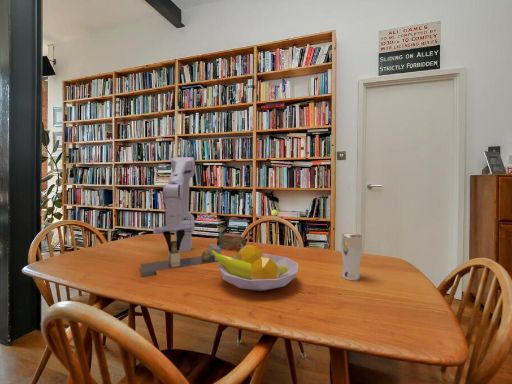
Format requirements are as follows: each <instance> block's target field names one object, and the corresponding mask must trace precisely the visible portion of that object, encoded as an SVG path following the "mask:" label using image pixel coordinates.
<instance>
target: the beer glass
mask: <svg viewBox="0 0 512 384" xmlns="http://www.w3.org/2000/svg"><path fill="white" fill-rule="evenodd" d="M340 250H341V252H340V253H341V260H342V272H341V277H342V278H343V279H344V280H348V281H359V280H360V279H361V276H360V263H361V259H362V253H363V237H362V235H361V234H358V233H351V232H347V233H342V234H341V242H340Z"/></svg>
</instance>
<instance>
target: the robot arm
mask: <svg viewBox="0 0 512 384" xmlns="http://www.w3.org/2000/svg"><path fill="white" fill-rule="evenodd" d="M170 163H171V164H170V165H171V170H172V173H171V174H170V176H169V179H168V181H167V183H166V185H164V186H163V189H162V193H163V203H164V204H165V207H164V208H165V225H164V226H159V227H153V229H152V231H153V234H154V235H156V234H162V235H163V237H164V239H165V241H166V244H167V245H166V246H167V248H168V250H169V252H170V251H171V241H172V234H171V233H173V235H174V241H177V251H178V252H179V253H181V252H189V251H192V233H194V232H195V216H194V215H193V214H192V213H191V212H189V211H190V210H189V209H190V208H189V207H190V204H189V201H190V181H191V178H192V177H194V176H195V167H196V163H195V158H194V156H191V157H190V156H189V157H183V156H182V157H181V156H180V157H178V156H173V157H172V158H171V161H170Z"/></svg>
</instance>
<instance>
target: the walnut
mask: <svg viewBox="0 0 512 384" xmlns="http://www.w3.org/2000/svg"><path fill="white" fill-rule="evenodd" d="M201 256H202V260H204V261H208V260H211V252H210V251H209V249H205V250H203V251H202V252H201Z"/></svg>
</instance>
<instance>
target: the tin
mask: <svg viewBox="0 0 512 384" xmlns="http://www.w3.org/2000/svg"><path fill="white" fill-rule="evenodd" d="M216 245H217V246H218V247H220V248H221V250H226V251H230V252H231V251H233V252H238V253H239V251H240V249H242V248H243V247H244V246H245V245H248V244H247V240H246V239H245V238H244V237H243V236H241V235H233V234H222V235H220V236H219V237H218V238H217V240H216Z"/></svg>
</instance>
